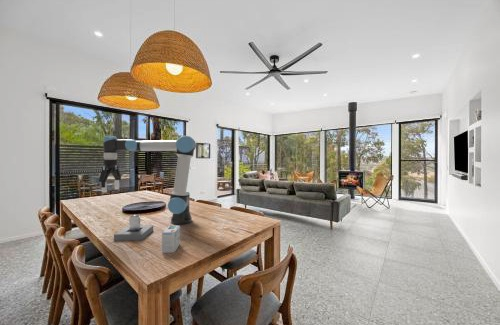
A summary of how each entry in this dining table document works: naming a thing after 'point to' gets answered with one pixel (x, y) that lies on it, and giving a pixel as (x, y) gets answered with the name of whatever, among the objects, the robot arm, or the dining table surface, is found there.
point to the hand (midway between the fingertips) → (110, 190)
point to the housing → (133, 233)
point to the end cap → (134, 223)
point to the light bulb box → (170, 239)
